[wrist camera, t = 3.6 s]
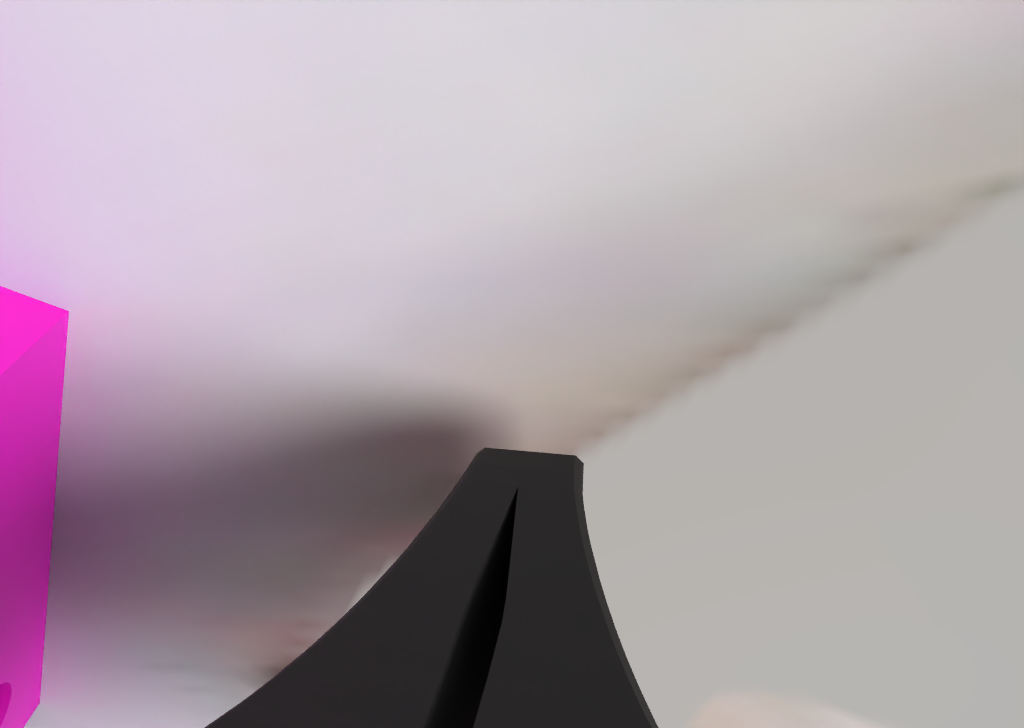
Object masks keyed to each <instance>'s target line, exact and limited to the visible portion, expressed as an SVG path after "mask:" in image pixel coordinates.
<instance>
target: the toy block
mask: <svg viewBox="0 0 1024 728" xmlns="http://www.w3.org/2000/svg"><path fill="white" fill-rule="evenodd" d="M68 316H69V311H66V310H64V309H61V308H58V307H56V306H53V305H50V304H47V303H45V302H42V301H39V300H36V299H34V298H31V297H28V296H26V295H23V294H20V293H17V292H15V291H12V290H9V289H7V288H4V287H1V286H0V728H23V727H24V726H25V724H26V723H27V721H28V720H29V718H30V717H31V715H32V714H33V712H34V711H35V709H36V708H37V706H38V705H39V703H40V690H41V677H42V663H43V650H44V637H45V623H46V610H47V597H48V583H49V570H50V556H51V543H52V530H53V516H54V503H55V490H56V476H57V463H58V449H59V436H60V423H61V409H62V396H63V383H64V369H65V356H66V342H67V329H68Z"/></svg>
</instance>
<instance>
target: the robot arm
mask: <svg viewBox="0 0 1024 728" xmlns="http://www.w3.org/2000/svg"><path fill="white" fill-rule="evenodd" d="M583 465H584V463H583V462H581V461H580V460H579V459H578V458H577V457H576V456H574V455H562V454H551V453H539V452H528V451H516V450H505V449H493V448H484V449H483V450H481V451H480V452H479V453H477V454H476V456H475V458H474V459H473V461H472V462H471V464H470V466H469V467H468V469H467V470H466V472H465V473H464V475H463V476H462V478H461V479H460V480H459V482H458V483H457V485H456V486H455V488H454V489H453V490H452V492H451V493H450V495H449V496H448V497H447V499H446V500H445V501H444V503H443V504H442V505H441V507H440V508H439V509H438V511H437V512H436V513H435V515H434V516H433V517H432V518H431V519H430V521H429V522H428V523H427V524H426V526H425V527H424V528H423V529H422V531H421V532H420V533H419V534H418V536H417V537H416V538H415V539H414V540H413V542H412V543H411V544H410V545H409V547H408V548H407V549H406V550H405V551H404V553H403V554H402V555H401V556H400V557H399V558H398V559H397V561H396V562H395V563H394V564H393V565H392V566H391V567H390V568H389V569H388V570H387V571H386V572H385V574H384V575H383V576H382V577H381V578H380V579H379V580H378V581H377V582H376V583H375V584H374V586H373V587H372V588H371V589H370V590H369V591H368V592H367V593H366V594H365V595H364V596H363V597H362V598H361V599H360V600H359V601H358V602H357V603H356V604H355V605H354V606H353V607H352V608H351V609H350V610H349V611H348V612H347V613H346V614H345V615H344V616H343V617H342V618H341V619H340V620H339V621H338V622H337V623H336V624H335V625H334V626H333V627H332V628H330V629H329V630H328V631H327V632H326V633H325V634H324V635H323V636H322V637H321V638H320V639H318V640H317V641H316V642H315V643H314V644H313V645H312V646H311V647H309V648H308V649H307V650H306V651H305V652H304V653H302V654H301V655H300V656H299V657H298V658H296V659H295V660H294V661H293V662H292V663H290V664H289V665H288V666H287V667H285V668H284V669H283V670H282V671H281V672H279V673H278V674H277V675H276V676H275V677H273V678H272V679H271V680H270V681H268V682H267V683H266V684H265V685H263V686H262V687H261V688H259V689H258V690H257V691H256V692H254V693H253V694H252V695H250V696H249V697H248V698H246V699H245V700H244V701H242V702H241V703H239V704H238V705H237V706H235V707H234V708H232V709H231V710H229V711H228V712H227V713H225V714H224V715H222V716H221V717H219V718H218V719H216V720H215V721H214V722H212V723H211V724H209V725H208V726H206V727H205V728H658V726H657V724H656V723H655V720H654V718H653V716H652V714H651V712H650V709H649V708H648V705H647V703H646V701H645V699H644V697H643V695H642V692H641V690H640V688H639V686H638V684H637V681H636V679H635V676H634V674H633V672H632V669H631V667H630V665H629V662H628V660H627V658H626V655H625V652H624V650H623V647H622V645H621V642H620V639H619V637H618V634H617V631H616V629H615V626H614V623H613V620H612V617H611V614H610V611H609V608H608V605H607V602H606V599H605V596H604V592H603V589H602V586H601V582H600V579H599V575H598V571H597V567H596V563H595V560H594V556H593V552H592V548H591V544H590V539H589V535H588V530H587V524H586V518H585V511H584V504H583V495H582V491H583Z"/></svg>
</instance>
